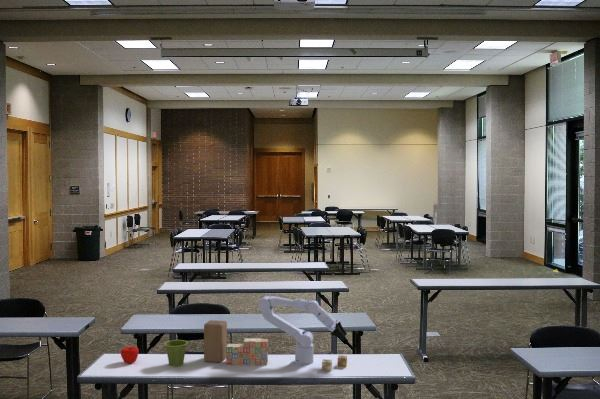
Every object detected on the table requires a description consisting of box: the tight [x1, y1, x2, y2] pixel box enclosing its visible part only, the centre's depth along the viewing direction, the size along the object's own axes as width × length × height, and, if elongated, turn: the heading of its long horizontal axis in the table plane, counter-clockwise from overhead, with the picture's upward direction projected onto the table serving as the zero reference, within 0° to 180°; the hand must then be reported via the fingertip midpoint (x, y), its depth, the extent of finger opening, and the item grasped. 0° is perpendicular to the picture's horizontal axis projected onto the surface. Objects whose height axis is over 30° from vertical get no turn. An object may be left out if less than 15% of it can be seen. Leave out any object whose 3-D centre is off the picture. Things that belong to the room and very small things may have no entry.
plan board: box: [335, 362, 350, 369], centre depth 290 cm, size 14×16×1 cm
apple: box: [120, 346, 139, 364], centre depth 299 cm, size 9×9×8 cm
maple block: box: [321, 359, 333, 372], centre depth 286 cm, size 4×4×4 cm
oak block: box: [337, 354, 348, 368], centre depth 293 cm, size 4×4×4 cm
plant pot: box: [164, 339, 189, 367], centre depth 296 cm, size 12×12×11 cm
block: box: [203, 319, 228, 363], centre depth 304 cm, size 10×10×20 cm
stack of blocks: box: [225, 337, 269, 366], centre depth 299 cm, size 21×6×12 cm, turn 88°
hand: (345, 337), depth 296 cm, fingers open, 7 cm apart
